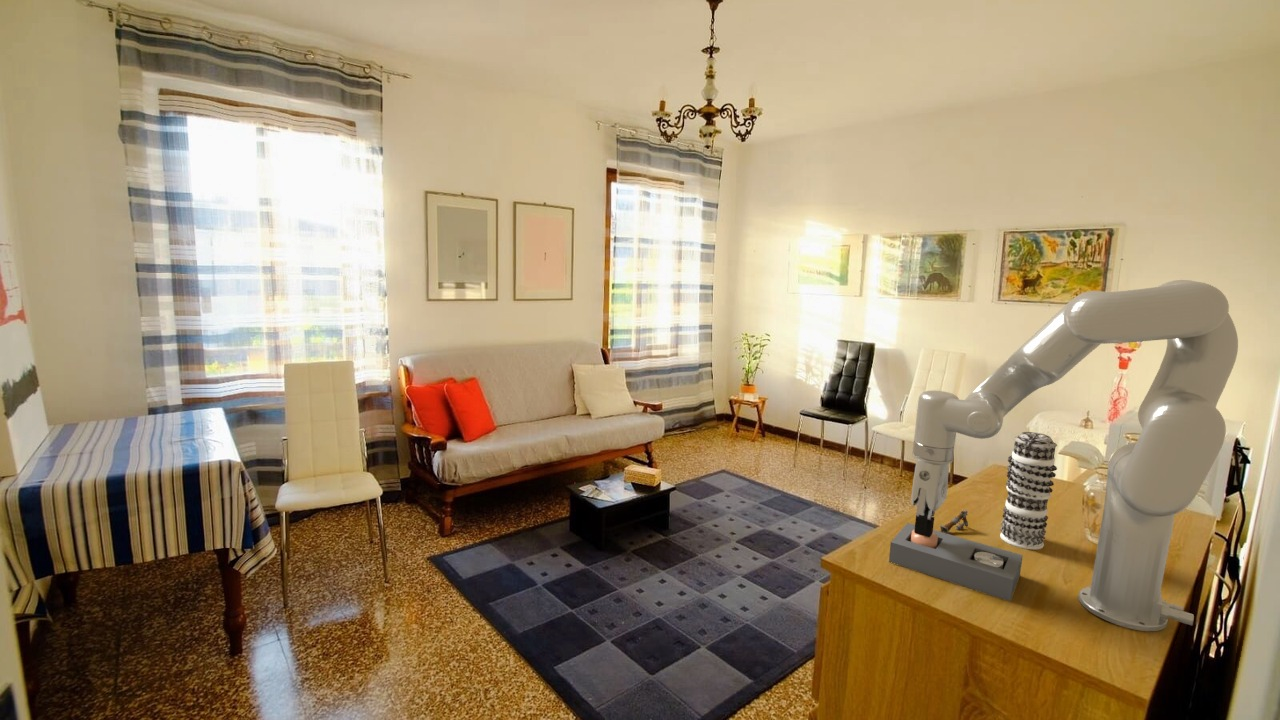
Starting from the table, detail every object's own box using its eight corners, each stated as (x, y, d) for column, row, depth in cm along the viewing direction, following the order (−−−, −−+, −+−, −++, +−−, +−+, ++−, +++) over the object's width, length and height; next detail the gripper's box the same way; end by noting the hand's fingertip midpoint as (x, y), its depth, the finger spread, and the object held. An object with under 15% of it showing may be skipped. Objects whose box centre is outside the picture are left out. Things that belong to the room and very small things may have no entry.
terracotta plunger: (938, 551, 126) (940, 533, 125) (932, 560, 122) (934, 542, 121) (913, 543, 129) (915, 526, 128) (906, 552, 125) (908, 534, 124)
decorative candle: (1006, 547, 131) (1020, 439, 127) (992, 529, 140) (1005, 427, 135) (1052, 553, 129) (1069, 443, 124) (1035, 533, 138) (1050, 430, 133)
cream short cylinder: (1003, 575, 118) (1005, 557, 118) (998, 586, 114) (1001, 567, 114) (974, 567, 121) (977, 549, 121) (969, 577, 118) (972, 558, 117)
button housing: (1019, 575, 119) (1022, 555, 119) (1010, 601, 110) (1013, 579, 109) (905, 541, 133) (907, 522, 132) (888, 561, 124) (890, 542, 123)
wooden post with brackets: (973, 524, 140) (969, 509, 139) (950, 543, 138) (946, 528, 136) (966, 521, 142) (962, 506, 140) (943, 539, 139) (939, 525, 138)
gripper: (943, 465, 113) (933, 553, 117) (961, 446, 125) (951, 527, 128) (903, 456, 118) (893, 540, 121) (923, 438, 129) (914, 517, 133)
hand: (923, 533), depth 125 cm, fingers closed
